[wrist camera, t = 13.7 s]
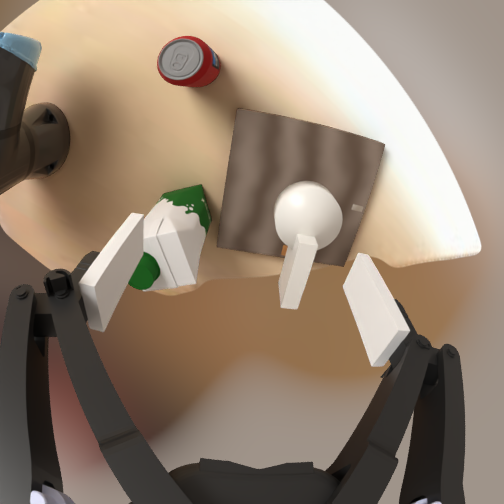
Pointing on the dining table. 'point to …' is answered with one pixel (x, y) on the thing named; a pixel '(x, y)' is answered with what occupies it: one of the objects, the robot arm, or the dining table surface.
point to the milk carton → (173, 240)
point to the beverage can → (188, 62)
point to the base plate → (292, 180)
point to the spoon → (303, 233)
